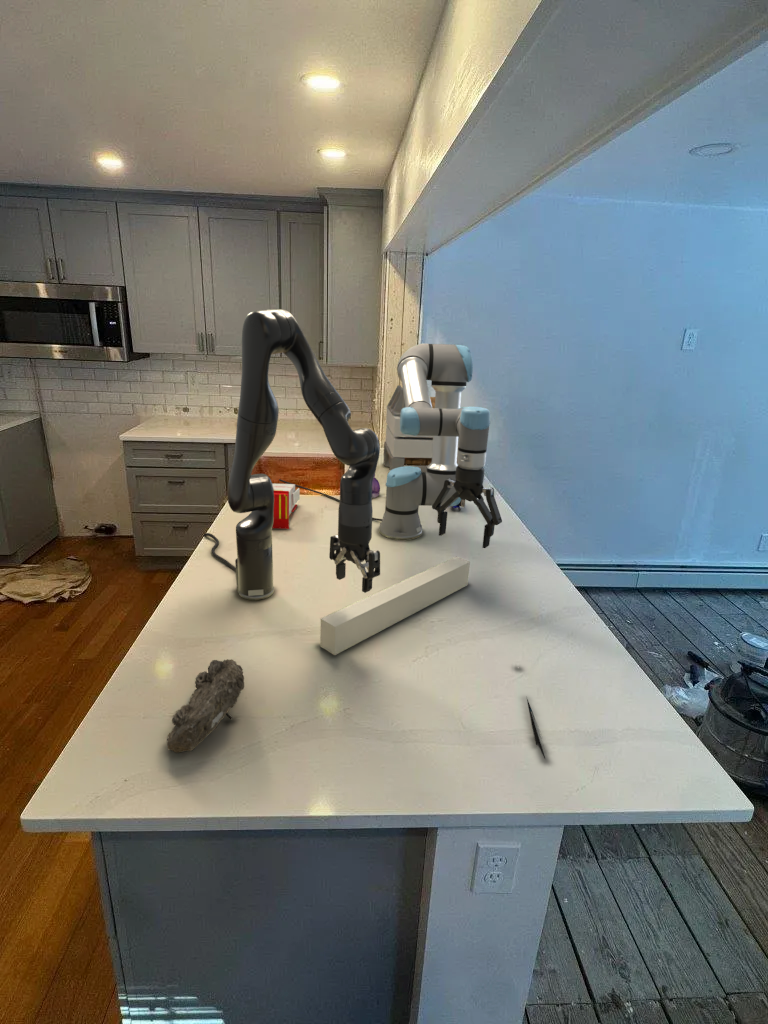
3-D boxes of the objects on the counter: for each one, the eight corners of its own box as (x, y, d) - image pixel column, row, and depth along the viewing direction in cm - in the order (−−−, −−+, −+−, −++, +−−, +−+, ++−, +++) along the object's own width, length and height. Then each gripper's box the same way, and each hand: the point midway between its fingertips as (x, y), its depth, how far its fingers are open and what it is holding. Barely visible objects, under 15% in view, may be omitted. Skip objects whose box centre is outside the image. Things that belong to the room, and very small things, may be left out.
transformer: (382, 463, 289) (386, 382, 275) (445, 464, 293) (451, 384, 279) (390, 482, 257) (394, 392, 243) (460, 483, 261) (468, 394, 247)
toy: (301, 479, 224) (291, 492, 194) (301, 512, 226) (291, 530, 197) (270, 478, 223) (256, 491, 194) (271, 511, 226) (256, 529, 197)
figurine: (365, 500, 232) (366, 464, 227) (354, 493, 241) (355, 458, 236) (385, 497, 237) (387, 463, 231) (374, 490, 245) (375, 457, 240)
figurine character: (465, 515, 224) (460, 499, 237) (467, 498, 221) (462, 483, 234) (448, 515, 224) (444, 499, 237) (450, 498, 220) (445, 482, 234)
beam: (453, 579, 168) (456, 556, 165) (467, 585, 165) (470, 561, 162) (320, 646, 132) (320, 618, 129) (334, 655, 129) (335, 626, 126)
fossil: (192, 660, 117) (244, 628, 112) (224, 691, 120) (276, 661, 115) (142, 746, 98) (202, 712, 93) (182, 779, 101) (242, 748, 96)
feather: (518, 672, 127) (523, 666, 127) (544, 763, 101) (551, 755, 100) (512, 668, 127) (517, 662, 127) (537, 758, 101) (544, 751, 100)
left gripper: (321, 514, 127) (320, 579, 133) (366, 532, 118) (363, 601, 124) (345, 507, 133) (344, 570, 138) (390, 524, 124) (387, 590, 129)
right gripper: (423, 460, 154) (418, 533, 161) (508, 478, 141) (499, 556, 148) (437, 455, 160) (431, 526, 167) (520, 472, 147) (510, 547, 154)
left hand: (353, 584), depth 131 cm, fingers open, 8 cm apart
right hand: (463, 540), depth 158 cm, fingers open, 13 cm apart
